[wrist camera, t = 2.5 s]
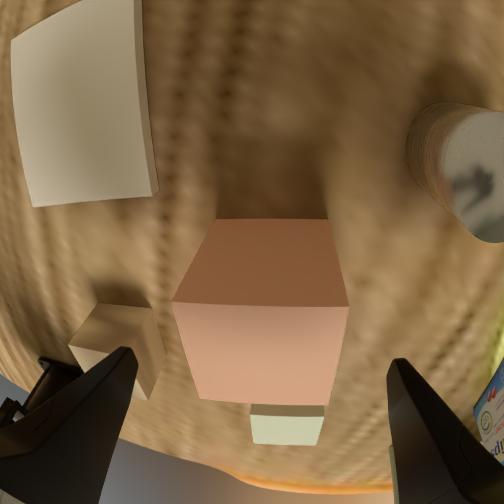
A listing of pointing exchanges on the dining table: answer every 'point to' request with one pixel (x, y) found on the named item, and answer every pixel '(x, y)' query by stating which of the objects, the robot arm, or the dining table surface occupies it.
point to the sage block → (286, 424)
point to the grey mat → (84, 105)
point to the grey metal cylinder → (462, 164)
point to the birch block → (122, 341)
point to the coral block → (264, 312)
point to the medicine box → (492, 415)
